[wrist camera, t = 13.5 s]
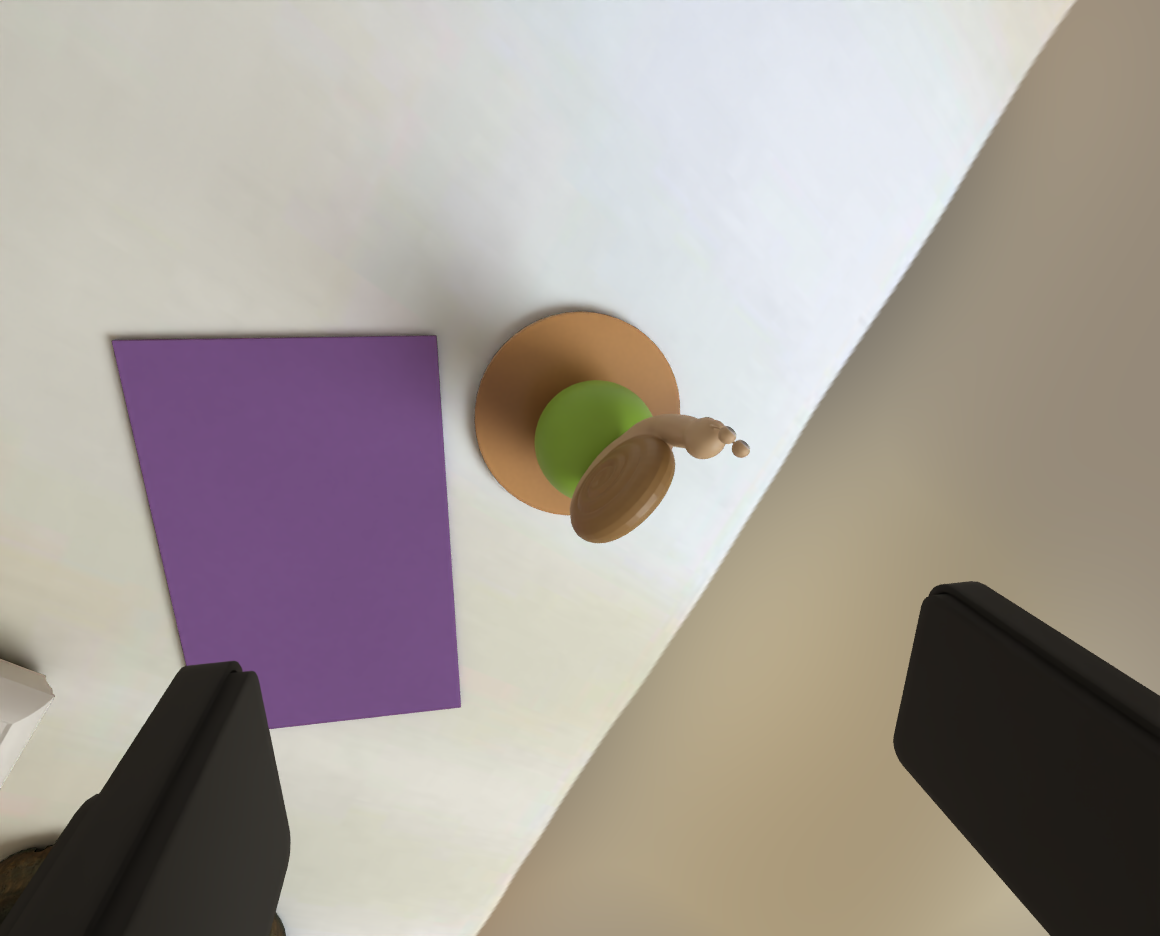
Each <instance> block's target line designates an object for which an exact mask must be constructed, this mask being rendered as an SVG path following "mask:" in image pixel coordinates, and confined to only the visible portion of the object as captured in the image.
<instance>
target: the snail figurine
mask: <svg viewBox="0 0 1160 936" xmlns="http://www.w3.org/2000/svg"><path fill="white" fill-rule="evenodd" d="M735 439H736V433H735V432H734V430H733V429H732V428H730V427H728V426H724V424H723V423H721V422H720V421H717V420H714V419H712V418H709V417H704V418H700V419H697V418H695V417H691V416H687V415H679V414H663V415H657V416H652V414H651V412H650V410H649V409H648V407H647V406H646V404H645V403H644V402H643V401H642V400H641V399H640V398H639V397H638V396H637V395H636V394H635V393H633V392H632V391H631V390H629V389H627V388H626V387H624V386H621V385H619V384H616V383H613V382H609V381H602V380H591V381H584V382H580V383H577V384H574V385H571V386H569V387H567V388H566V389H564V390H562V391H561V392H559V393H558V394H557V395H556V396H555V397H554V398H553V399H552V400H551V401H550V402H549V403H548V404H547V406H546V407H545V409H544V410H543V412H542V414H541V416H540V418H539V421H538V423H537V427H536V432H535V453H536V457H537V461H538V464H539V466H540V468H541V470H542V472H543V474H544V476H545V477H546V479H547V480H548V481H549V482H550V483H551V485H552V486H553V487H554V488H556V489H557V490H558V491H559V492H561V493H562V494H564V495H565V496H567V497H569V498H571V499H572V500H571V503H570V514H571V523H572V527H573V529H574V530H575V532H576V533H577V535H578V536H579V537H581V538H582V539H584V540H586V541H588V542H592V543H606V542H610V541H613V540H616V539H618V538H620V537H622V536H624V535H626V534H628V533H629V532H631V531H632V530H633V529H635V528H636V527H637V526H639V525H640V524H641V523H642V522H643V521H644V520H645V519H646V518H647V517H648V516H649V515H650V514H651V513H652V512H653V511H654V510H655V509H656V507H657V506H658V505H659V504H660V502H661V501H662V499H663V498H664V496H665V494H666V493H667V491H668V489H669V487H670V484H671V482H672V479H673V476H674V471H675V460H674V455H673V452H672V450H671V449H670V447H671V446H674V447H681V448H686V450H687V452H688V453H689V454H690V455H691V456H693V457H695V458H698V459H708V458H711V457H714V456H716V455H717V454H718V453H720V452H721V450H722V449H723V448H724V446H725V444H730V443H734V444H733V446H732V452H733V454H734V455H735V456H737V457H740V458H742V457H745V456H747V455H748V454H749V452H750V448H749V446H748V444H747V443H746V442H744V441H743V440H738V441H736V442H734V440H735Z"/></svg>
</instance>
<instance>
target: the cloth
mask: <svg viewBox="0 0 1160 936" xmlns="http://www.w3.org/2000/svg"><path fill="white" fill-rule="evenodd" d="M112 345H113V349H114V353H115V358H116V362H117V366H118V371H119V375H120V380H121V384H122V388H123V393H124V397H125V401H126V406H127V410H128V414H129V419H130V423H131V427H132V432H133V436H134V440H135V445H136V449H137V453H138V458H139V462H140V467H141V471H142V475H143V480H144V484H145V488H146V493H147V497H148V501H149V506H150V510H151V514H152V519H153V523H154V527H155V532H156V536H157V540H158V545H159V549H160V553H161V558H162V562H163V567H164V571H165V575H166V580H167V584H168V588H169V593H170V597H171V601H172V606H173V610H174V614H175V619H176V623H177V627H178V632H179V636H180V640H181V645H182V649H183V654H184V658H185V662H186V666H188V665H198V664H207V663H216V662H226V661H237V662H238V663H239V664H240V666H241V667H242V670H243V672H245V671H254V672H256V674H257V676H258V679H259V683H260V688H261V693H262V698H263V702H264V707H265V712H266V717H267V722H268V727H269V729H274V728H283V727H292V726H300V725H309V724H318V723H327V722H336V721H345V720H353V719H362V718H371V717H380V716H389V715H398V714H407V713H415V712H424V711H433V710H442V709H451V708H460V707H461V700H460V685H459V669H458V654H457V639H456V624H455V609H454V594H453V579H452V563H451V548H450V533H449V518H448V503H447V488H446V473H445V457H444V442H443V427H442V412H441V397H440V382H439V366H438V351H437V336H436V335H430V336H359V337H287V338H216V339H145V340H113V341H112Z"/></svg>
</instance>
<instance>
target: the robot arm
mask: <svg viewBox="0 0 1160 936" xmlns="http://www.w3.org/2000/svg"><path fill="white" fill-rule="evenodd" d="M893 743H894V749H895V752H896V755H897V757H898V759H899V761H900V762H901V763H902V765H903V766H904V767H905V769H906V770H907V771H908V772H909V773H910V774H911V775H912V777H913V778H914V779H915V780H916V781H917V782H918V784H919V785H920V786H921V787H922V788H923V789H924V790H925V792H926V793H927V794H928V795H929V796H930V797H931V799H932V800H933V801H934V802H935V803H936V804H937V805H938V807H939V808H940V809H941V810H942V811H943V812H944V814H945V815H946V816H947V817H948V818H949V819H950V820H951V822H952V823H953V824H954V825H955V826H956V827H957V829H958V830H959V831H960V832H961V833H962V834H963V835H964V837H965V838H966V839H967V840H968V841H969V842H970V843H971V845H972V846H973V847H974V848H975V849H976V850H977V851H978V853H979V854H980V855H981V856H982V857H983V858H984V860H985V861H986V862H987V863H988V864H989V865H990V867H991V868H992V869H993V870H994V871H995V872H996V873H997V874H998V876H999V877H1000V878H1001V879H1002V880H1003V882H1005V884H1006V885H1007V886H1008V887H1009V888H1010V889H1011V891H1012V892H1013V893H1014V894H1015V895H1016V896H1017V898H1018V899H1019V900H1020V901H1021V902H1022V903H1023V904H1024V906H1025V907H1026V908H1027V909H1028V910H1029V911H1030V913H1031V914H1032V915H1033V916H1034V917H1035V918H1036V919H1037V920H1038V922H1039V923H1040V924H1041V925H1042V926H1043V927H1044V929H1045V930H1046V931H1047V932H1048V933H1049V935H1050V936H1160V696H1159V695H1157V694H1156V693H1154V692H1153V691H1151V690H1150V689H1148V688H1146V687H1145V686H1143V685H1142V684H1140V683H1139V682H1137V681H1135V680H1134V679H1132V678H1131V677H1129V676H1127V675H1126V674H1124V673H1123V672H1121V671H1120V670H1118V669H1116V668H1115V667H1113V666H1112V665H1110V664H1109V663H1107V662H1106V661H1104V660H1102V659H1101V658H1099V657H1098V656H1096V655H1094V654H1093V653H1091V652H1090V651H1088V650H1087V649H1085V648H1083V647H1082V646H1080V645H1079V644H1077V643H1075V642H1074V641H1072V640H1071V639H1069V638H1068V637H1066V636H1065V635H1063V634H1061V633H1060V632H1058V631H1057V630H1055V629H1053V628H1052V627H1050V626H1049V625H1047V624H1045V623H1044V622H1043V621H1041V620H1039V619H1038V618H1036V617H1035V616H1033V615H1031V614H1030V613H1028V612H1027V611H1025V610H1024V609H1022V608H1020V607H1019V606H1017V605H1016V604H1014V603H1012V602H1011V601H1009V600H1008V599H1006V598H1005V597H1003V596H1002V595H1000V594H998V593H997V592H995V591H994V590H992V589H991V588H989V587H987V586H986V585H984V584H981V583H979V582H973V581H970V582H961V583H951V584H943V585H939V586H936V587H934V588H933V589H932V591H931V592H930V594H929V596H928V597H926V599H924V601H923V603H922V606H921V611H920V615H919V619H918V624H917V629H916V634H915V638H914V643H913V648H912V653H911V657H910V662H909V667H908V671H907V676H906V681H905V685H904V690H903V695H902V700H901V704H900V709H899V714H898V719H897V723H896V728H895V733H894V739H893ZM289 856H290V830H289V825H288V820H287V815H286V810H285V805H284V800H283V795H282V790H281V786H280V781H279V776H278V771H277V766H276V761H275V756H274V751H273V746H272V742H271V737H270V732H269V727H268V722H267V717H266V712H265V707H264V702H263V698H262V693H261V688H260V683H259V679H258V676H257V674H256V672H254V671H245V672H243V670H242V667H241V666H240V664H239V663H238V662H237V661H226V662H216V663H207V664H198V665H188V666H185V667H182V668H181V670H180V671H179V672H178V673H177V674H176V676H175V678H174V679H173V681H172V682H171V684H170V685H169V687H168V688H167V690H166V691H165V693H164V695H163V696H162V698H161V699H160V701H159V702H158V704H157V705H156V707H155V708H154V710H153V712H152V713H151V715H150V716H149V718H148V719H147V721H146V722H145V724H144V725H143V727H142V729H141V730H140V732H139V733H138V735H137V736H136V738H135V739H134V741H133V742H132V744H131V746H130V747H129V749H128V750H127V752H126V753H125V755H124V756H123V758H122V759H121V761H120V763H119V764H118V766H117V767H116V769H115V770H114V772H113V773H112V775H111V776H110V778H109V780H108V781H107V783H106V784H105V786H104V787H103V789H102V790H101V792H100V793H99V794H96V795H94V796H93V797H91V798H90V799H88V800H87V801H85V802H84V804H83V805H82V806H81V807H80V808H79V810H78V811H77V812H76V813H75V814H74V816H73V817H72V819H71V820H70V822H69V823H68V825H67V826H66V828H65V829H64V831H63V832H62V834H61V835H60V837H59V838H58V840H57V841H56V843H55V844H54V846H53V847H52V849H51V850H50V852H49V853H48V855H47V856H46V858H45V859H44V861H43V862H42V864H41V865H40V867H39V868H38V870H37V871H36V873H35V874H34V876H33V877H32V879H31V880H30V882H29V883H28V885H27V886H26V888H25V889H24V891H23V892H22V894H21V895H20V897H19V898H18V900H17V901H16V903H15V904H14V906H13V907H12V909H11V910H10V912H9V913H8V915H7V916H6V918H5V919H4V921H3V922H2V924H1V925H0V936H269V934H270V931H271V927H272V923H273V919H274V916H275V912H276V908H277V904H278V901H279V897H280V893H281V889H282V886H283V882H284V878H285V874H286V871H287V867H288V862H289Z"/></svg>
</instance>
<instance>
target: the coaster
mask: <svg viewBox="0 0 1160 936" xmlns="http://www.w3.org/2000/svg"><path fill="white" fill-rule="evenodd" d="M591 380H602V381H609V382H613V383H616V384H619V385H621V386H624V387H626V388H627V389H629V390H631V391H632V392H633V393H635V394H636V395H637V396H638V397H639V398H640V399H641V400H642V401H643V402H644V403H645V404H646V406H647V407H648V409H649V410H650V412H651V414H652V416H657V415H663V414H679V415H680V400H679V392H678V387H677V384H676V380H675V377H674V374H673V372H672V370H671V367H670V365H669V363H668V362H667V360H666V358H665V357H664V355H663V353H662V352H661V351H660V350H659V348H658V347H657V346H656V345H655V343H654V342H653V341H651V340H650V339H649V338H648V337H647V336H646V335H645V334H644V333H642V332H641V331H640V330H638V329H637V328H635V327H634V326H632V325H630V324H628V323H626V322H624V321H622V320H620V319H617V318H614V317H611V316H608V315H605V314H600V313H595V312H582V311H578V312H565V313H560V314H556V315H551V316H549V317H546V318H543V319H540V320H538V321H536V322H534V323H532V324H530V325H528V326H526V327H525V328H523V329H522V330H520V331H519V332H517V333H516V334H515V335H513V336H512V337H511V338H510V339H509V340H508V341H507V342H506V343H505V344H504V345H503V346H502V347H501V348H500V349H499V351H498V352H497V353H496V354H495V355H494V357H493V359H492V360H491V362H490V363H489V365H488V367H487V368H486V370H485V373H484V375H483V377H482V379H481V382H480V385H479V389H478V392H477V397H476V403H475V429H476V437H477V441H478V445H479V449H480V451H481V454H482V456H483V459H484V461H485V463H486V465H487V466H488V468H489V470H490V472H491V473H492V474H493V476H494V477H495V478H496V480H497V481H498V482H499V483H500V484H501V485H502V486H503V487H504V488H505V489H506V490H507V491H508V492H509V493H510V494H512V495H513V496H514V497H516V498H517V499H518V500H520V501H522V502H524V503H526V504H527V505H529V506H531V507H534V508H536V509H539V510H542V511H545V512H549V513H553V514H560V515H571V514H570V503H571V500H572V499H571V498H569V497H567V496H565V495H564V494H562V493H561V492H559V491H558V490H557V489H556V488H554V487H553V486H552V485H551V483H550V482H549V481H548V480H547V479H546V477H545V476H544V474H543V472H542V470H541V468H540V466H539V464H538V461H537V457H536V453H535V432H536V427H537V423H538V421H539V418H540V416H541V414H542V412H543V410H544V409H545V407H546V406H547V404H548V403H549V402H550V401H551V400H552V399H553V398H554V397H555V396H556V395H557V394H558V393H559V392H561V391H562V390H564V389H566V388H567V387H569V386H571V385H574V384H577V383H580V382H584V381H591ZM672 448H673V446H671V447H670V449H671V450H672Z"/></svg>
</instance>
